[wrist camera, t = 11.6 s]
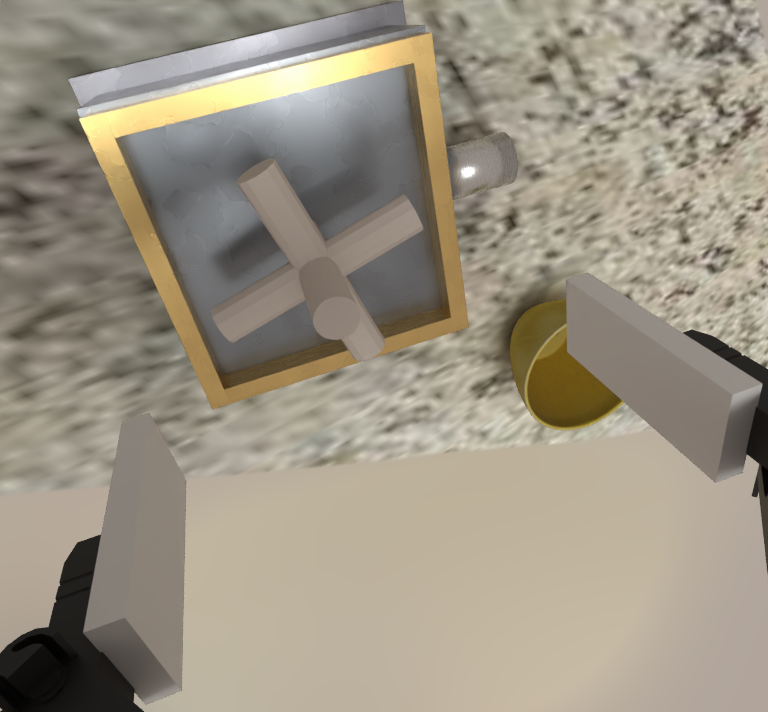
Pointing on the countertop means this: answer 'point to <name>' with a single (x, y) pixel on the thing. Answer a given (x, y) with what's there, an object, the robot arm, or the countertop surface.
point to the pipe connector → (314, 264)
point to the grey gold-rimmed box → (304, 173)
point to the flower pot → (555, 372)
